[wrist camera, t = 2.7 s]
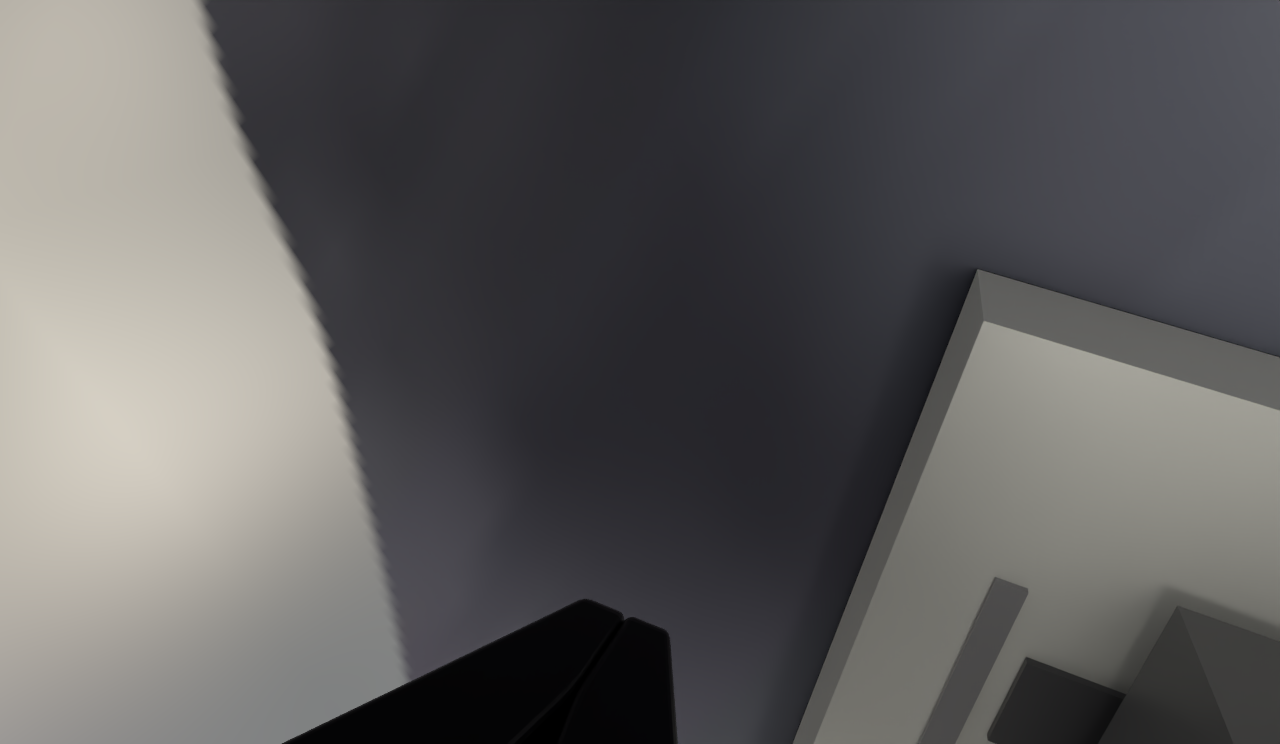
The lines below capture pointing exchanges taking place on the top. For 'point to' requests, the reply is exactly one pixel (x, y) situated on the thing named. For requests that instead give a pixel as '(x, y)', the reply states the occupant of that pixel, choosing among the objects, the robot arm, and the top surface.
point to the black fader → (1202, 687)
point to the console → (1056, 525)
